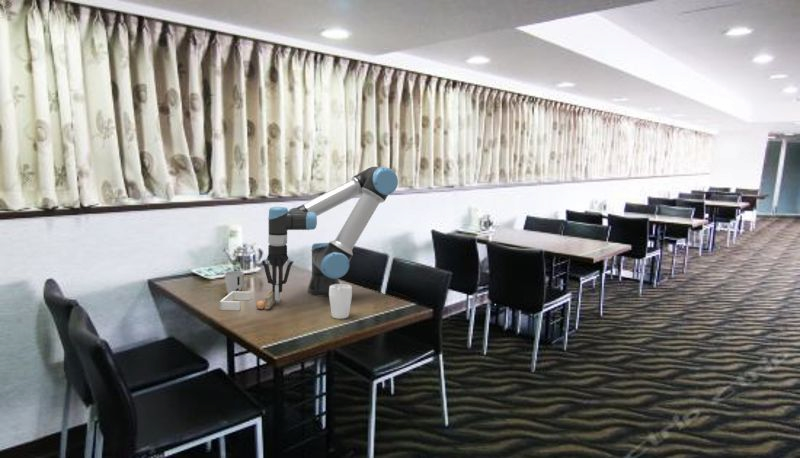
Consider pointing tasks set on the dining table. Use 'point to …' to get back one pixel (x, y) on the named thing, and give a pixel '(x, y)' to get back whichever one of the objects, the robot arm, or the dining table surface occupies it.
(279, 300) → the pivot base
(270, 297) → the tan wooden bar
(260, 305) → the ball
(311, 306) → the dining table surface
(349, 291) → the cup
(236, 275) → the cup
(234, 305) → the white u-shaped bracket
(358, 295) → the dining table surface
